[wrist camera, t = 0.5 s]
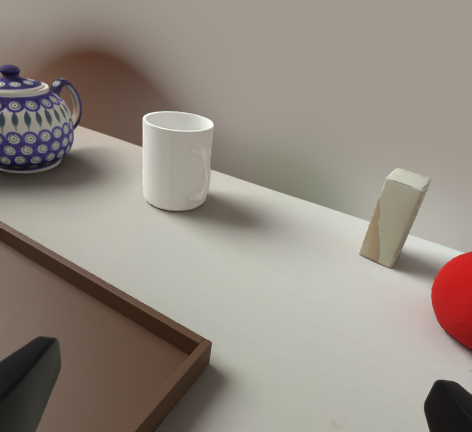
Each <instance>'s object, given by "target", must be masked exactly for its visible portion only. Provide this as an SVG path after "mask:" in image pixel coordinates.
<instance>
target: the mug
mask: <svg viewBox="0 0 472 432" xmlns="http://www.w3.org/2000/svg"><path fill="white" fill-rule="evenodd" d="M212 137H213V122H212V121H211V120H209V119H207V118H204V117H202V116H199V115H195V114H190V113H182V112H170V111H167V112H154V113H150V114H147V115H145V116H144V117H143V193H144V197H145V199H146V200H147V201H148V202H149V203H150V204H152V205H153V206H155V207H157V208H160V209H163V210H168V211H186V210H191V209H194V208H197V207H198V206H200V205H201V204H202V203H204V201H205V200H206V196H207V192H208V189H209V185H210V158H211V147H212Z"/></svg>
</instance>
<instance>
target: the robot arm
mask: <svg viewBox="0 0 472 432" xmlns="http://www.w3.org/2000/svg"><path fill="white" fill-rule="evenodd" d="M60 370H61V355H60V346H59V340H58V339H57V338H55V337H48V336H39V337H36V338H35V339H33V340H32V341H30V342H29V343H27V344H26V345H24V346H23V347H21V348H19V349H18V350H16V351H15V352H13V353H12V354H10V355H9V356H7V357H6V358H4V359H3V360H1V361H0V432H36V430H37V427H38V425H39V422H40V420H41V418H42V415H43V413H44V410H45V408H46V405H47V403H48V400H49V398H50V395H51V393H52V390H53V388H54V385H55V383H56V381H57V378H58V376H59V373H60ZM424 412H425V416H426V420H427V423H428V427H429V430H430V432H472V395H471V394H470V393H469V392H468V391H466V390H465V389H464V388H463V387H462V386H460V385H459V384H458V383H456V382H454V381H448V380H437V381H436V382H435V383H434V385H433V386H432V388H431V390H430V392H429V394H428V396H427V398H426V400H425V403H424Z"/></svg>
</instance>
